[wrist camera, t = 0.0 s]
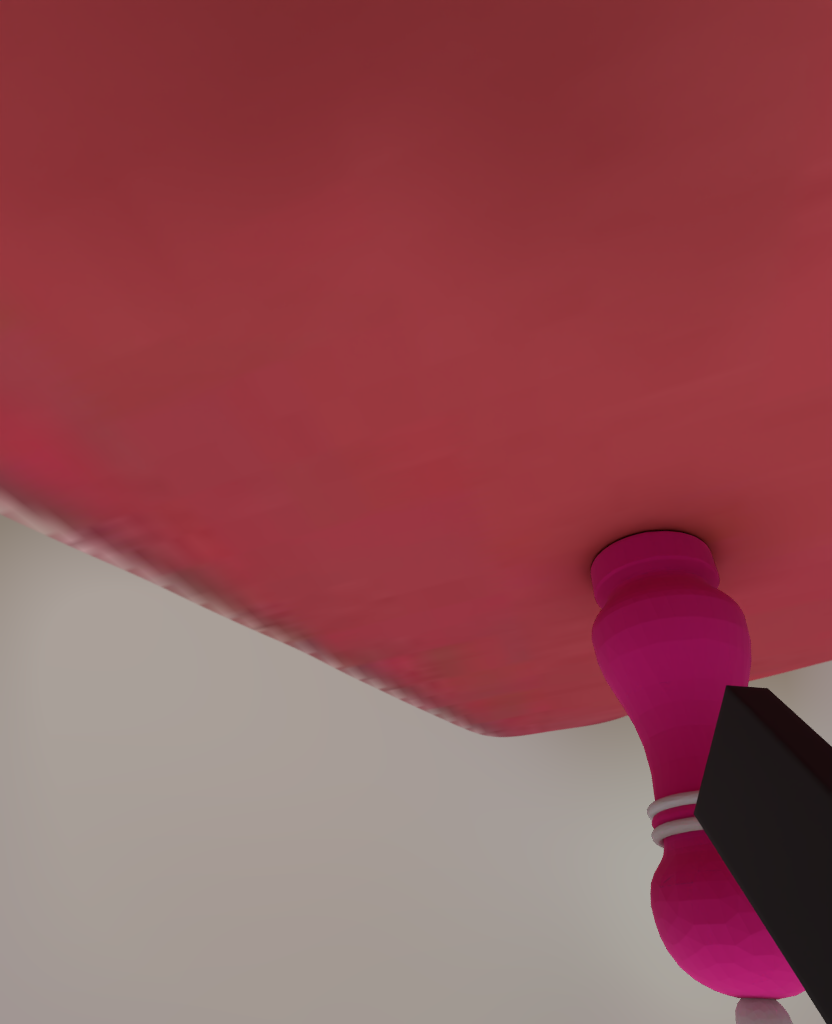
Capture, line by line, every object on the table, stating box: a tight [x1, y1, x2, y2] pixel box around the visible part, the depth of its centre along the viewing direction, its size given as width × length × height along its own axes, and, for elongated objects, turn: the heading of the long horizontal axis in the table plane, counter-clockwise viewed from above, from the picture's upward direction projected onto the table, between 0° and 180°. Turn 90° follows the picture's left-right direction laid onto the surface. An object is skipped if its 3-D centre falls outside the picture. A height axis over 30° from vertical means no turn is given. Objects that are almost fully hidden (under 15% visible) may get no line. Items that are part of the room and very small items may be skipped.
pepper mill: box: [591, 531, 805, 1024], centre depth 26 cm, size 7×7×20 cm
